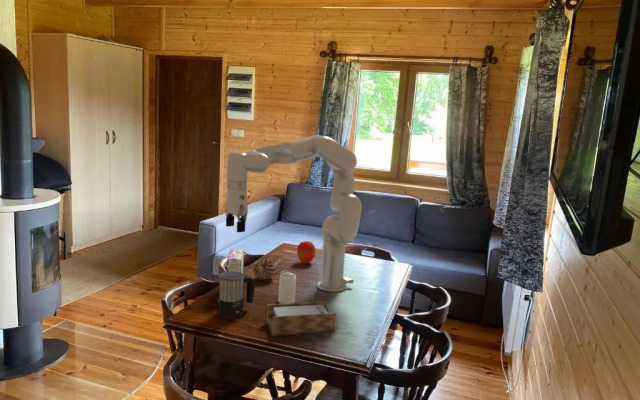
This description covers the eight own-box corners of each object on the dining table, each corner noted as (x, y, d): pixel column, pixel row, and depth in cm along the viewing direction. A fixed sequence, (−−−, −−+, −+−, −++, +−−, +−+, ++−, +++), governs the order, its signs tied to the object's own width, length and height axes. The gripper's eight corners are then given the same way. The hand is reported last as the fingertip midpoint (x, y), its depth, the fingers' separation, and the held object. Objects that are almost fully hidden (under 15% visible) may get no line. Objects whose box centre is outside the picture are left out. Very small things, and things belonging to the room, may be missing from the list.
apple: (312, 267, 239) (313, 243, 237) (294, 264, 241) (295, 241, 239) (316, 261, 248) (317, 238, 246) (299, 259, 250) (300, 236, 248)
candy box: (228, 286, 207) (229, 248, 204) (242, 286, 208) (244, 249, 205) (225, 298, 194) (226, 258, 191) (240, 298, 194) (241, 259, 191)
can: (297, 300, 196) (298, 272, 194) (290, 306, 190) (292, 276, 188) (282, 297, 198) (283, 269, 196) (275, 303, 192) (277, 274, 190)
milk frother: (231, 321, 174) (232, 281, 171) (199, 309, 182) (200, 271, 179) (257, 309, 186) (258, 271, 183) (226, 298, 194) (227, 262, 191)
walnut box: (325, 318, 180) (326, 301, 179) (334, 331, 170) (336, 313, 169) (266, 322, 174) (267, 304, 173) (272, 336, 164) (273, 317, 163)
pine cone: (267, 286, 210) (268, 264, 208) (247, 282, 213) (248, 260, 211) (287, 271, 230) (288, 251, 229) (269, 268, 233) (270, 248, 232)
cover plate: (321, 308, 178) (322, 303, 178) (329, 318, 169) (329, 313, 169) (273, 311, 173) (273, 305, 173) (278, 322, 164) (278, 316, 164)
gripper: (256, 188, 180) (254, 233, 183) (236, 181, 194) (234, 223, 197) (237, 188, 176) (235, 235, 179) (218, 181, 190) (217, 224, 193)
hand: (235, 229), depth 188 cm, fingers open, 9 cm apart
